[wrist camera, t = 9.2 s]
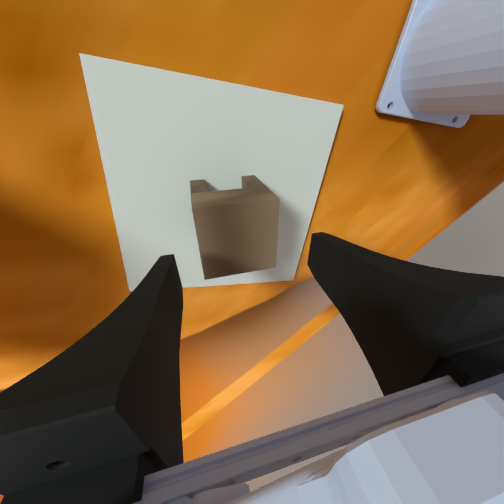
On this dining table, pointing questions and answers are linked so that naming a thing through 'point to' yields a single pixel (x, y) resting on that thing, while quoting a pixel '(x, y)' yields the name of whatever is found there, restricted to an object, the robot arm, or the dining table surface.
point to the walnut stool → (235, 227)
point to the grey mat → (202, 160)
